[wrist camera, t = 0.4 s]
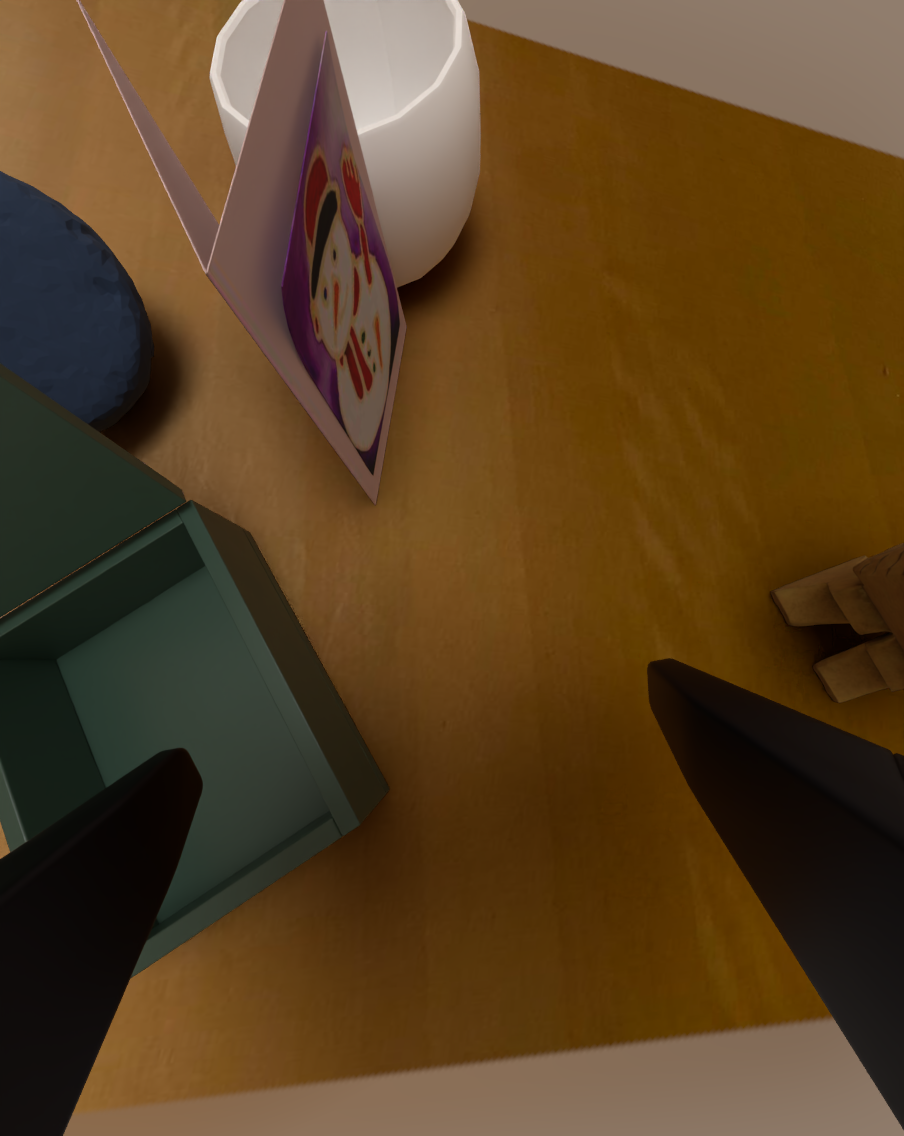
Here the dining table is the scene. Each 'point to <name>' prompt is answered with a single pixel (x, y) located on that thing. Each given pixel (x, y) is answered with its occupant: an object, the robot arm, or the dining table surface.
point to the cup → (383, 110)
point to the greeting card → (300, 239)
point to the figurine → (855, 620)
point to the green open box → (182, 711)
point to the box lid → (64, 492)
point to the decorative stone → (68, 309)
